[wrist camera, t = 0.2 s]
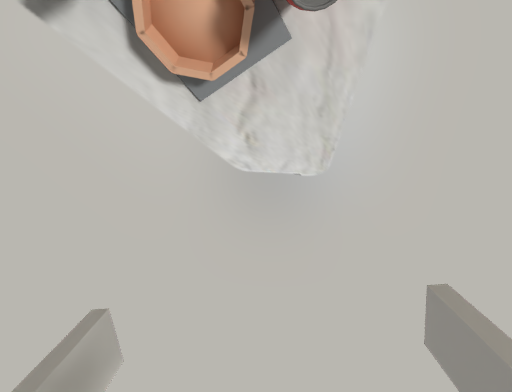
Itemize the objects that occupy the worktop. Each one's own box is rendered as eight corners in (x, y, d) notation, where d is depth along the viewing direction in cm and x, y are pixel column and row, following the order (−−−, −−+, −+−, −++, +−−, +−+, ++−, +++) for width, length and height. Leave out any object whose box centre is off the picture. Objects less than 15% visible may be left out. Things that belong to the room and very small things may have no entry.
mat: (92, -22, 30) (91, -21, 30) (195, -151, 23) (194, -151, 23) (201, 100, 41) (200, 101, 41) (291, 37, 35) (291, 38, 34)
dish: (118, -8, 31) (106, 1, 28) (201, -101, 25) (195, -101, 23) (196, 83, 39) (192, 96, 36) (271, 27, 33) (272, 38, 31)
